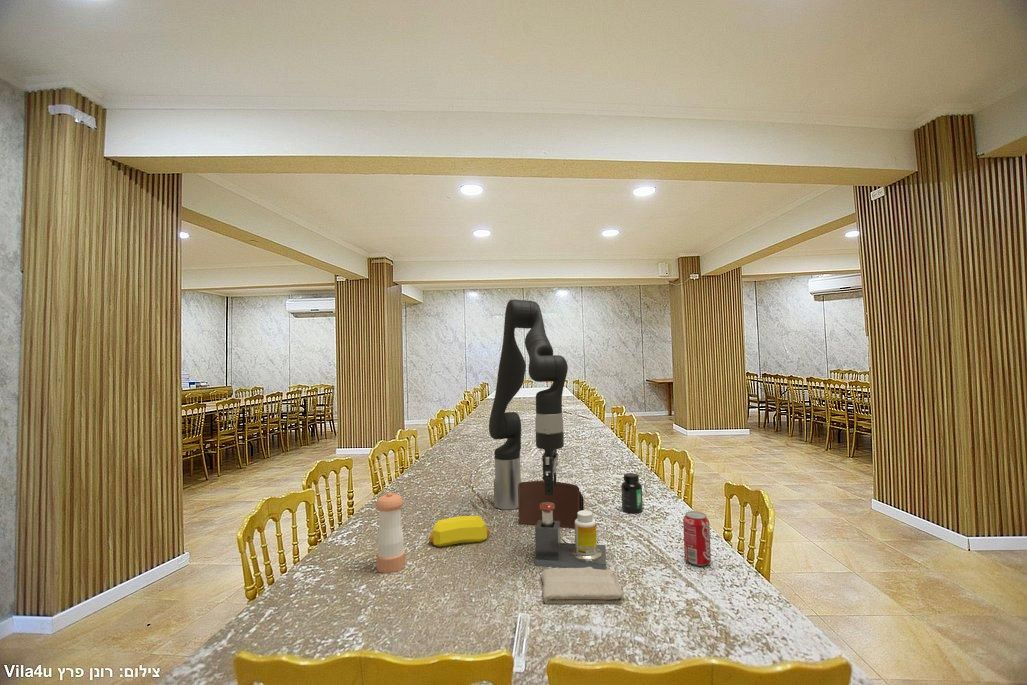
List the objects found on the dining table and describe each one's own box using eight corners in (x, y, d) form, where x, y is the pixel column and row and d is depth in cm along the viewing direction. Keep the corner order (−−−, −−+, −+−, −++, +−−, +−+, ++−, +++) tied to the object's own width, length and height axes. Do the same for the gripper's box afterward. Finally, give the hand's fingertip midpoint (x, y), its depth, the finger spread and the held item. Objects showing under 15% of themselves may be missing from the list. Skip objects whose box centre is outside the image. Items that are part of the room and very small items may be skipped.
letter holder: (580, 529, 138) (578, 483, 139) (518, 524, 144) (516, 480, 144) (584, 517, 148) (583, 474, 148) (526, 513, 153) (524, 472, 154)
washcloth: (626, 606, 97) (625, 592, 97) (542, 607, 97) (542, 593, 98) (615, 578, 109) (615, 565, 109) (541, 579, 109) (540, 566, 109)
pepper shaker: (379, 575, 113) (377, 498, 113) (374, 564, 119) (372, 491, 119) (408, 568, 116) (406, 493, 116) (401, 557, 122) (400, 486, 123)
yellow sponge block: (492, 542, 131) (487, 532, 138) (491, 519, 131) (487, 510, 139) (429, 550, 127) (428, 539, 134) (429, 526, 127) (427, 517, 134)
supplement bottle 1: (601, 554, 117) (599, 514, 117) (582, 558, 115) (580, 517, 115) (590, 545, 122) (588, 507, 123) (571, 549, 120) (570, 510, 121)
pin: (539, 537, 119) (538, 506, 119) (541, 531, 123) (540, 501, 123) (554, 538, 118) (553, 507, 118) (556, 532, 122) (555, 502, 122)
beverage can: (710, 557, 117) (708, 511, 117) (712, 569, 111) (710, 520, 111) (684, 555, 119) (682, 509, 119) (685, 565, 113) (683, 517, 113)
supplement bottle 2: (645, 513, 150) (643, 477, 150) (624, 514, 150) (623, 477, 150) (639, 506, 156) (638, 471, 157) (620, 507, 156) (618, 472, 157)
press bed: (534, 565, 116) (533, 532, 116) (540, 547, 126) (539, 516, 127) (606, 570, 112) (604, 535, 112) (605, 550, 123) (604, 519, 123)
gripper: (538, 424, 129) (540, 481, 129) (532, 434, 115) (533, 498, 115) (565, 425, 128) (566, 482, 127) (561, 434, 114) (563, 499, 113)
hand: (550, 489), depth 121 cm, fingers open, 8 cm apart
